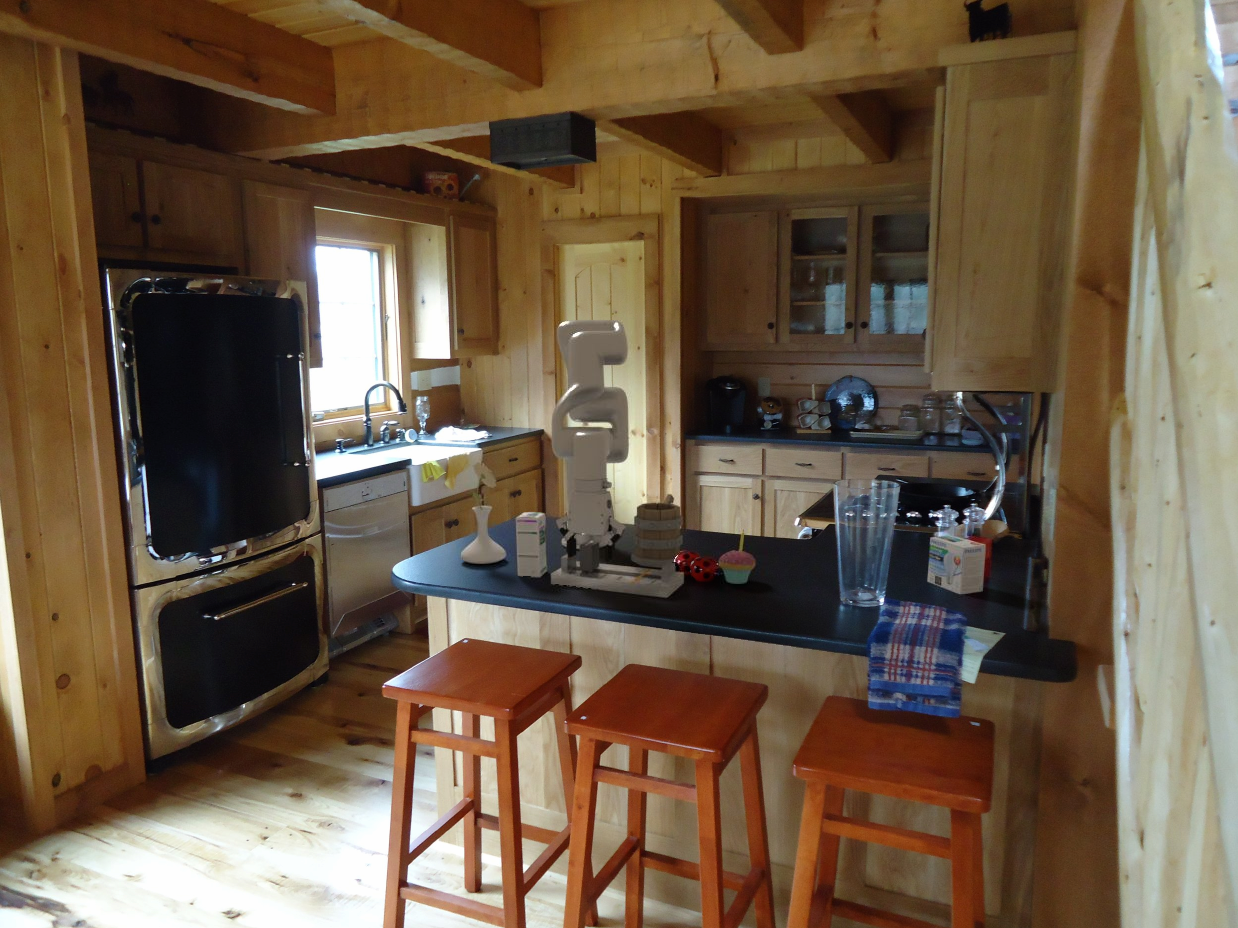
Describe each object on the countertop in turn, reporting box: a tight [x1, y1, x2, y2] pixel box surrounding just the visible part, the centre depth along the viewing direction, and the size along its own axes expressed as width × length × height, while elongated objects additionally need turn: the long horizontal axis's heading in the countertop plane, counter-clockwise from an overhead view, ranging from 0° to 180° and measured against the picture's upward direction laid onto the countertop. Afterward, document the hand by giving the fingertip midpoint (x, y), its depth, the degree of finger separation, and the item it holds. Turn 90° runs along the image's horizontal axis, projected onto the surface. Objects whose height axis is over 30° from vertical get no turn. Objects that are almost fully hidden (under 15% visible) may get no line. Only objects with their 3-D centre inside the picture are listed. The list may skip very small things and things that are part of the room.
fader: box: [579, 541, 600, 572], centre depth 203 cm, size 4×3×6 cm
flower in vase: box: [460, 461, 507, 565], centre depth 219 cm, size 13×11×25 cm
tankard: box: [630, 493, 684, 569], centre depth 223 cm, size 20×13×15 cm, turn 160°
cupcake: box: [718, 529, 756, 585], centre depth 202 cm, size 9×8×12 cm
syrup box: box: [515, 511, 548, 578], centre depth 208 cm, size 6×6×14 cm
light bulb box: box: [927, 534, 987, 595], centre depth 198 cm, size 11×7×11 cm, turn 23°
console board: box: [550, 553, 685, 599], centre depth 201 cm, size 12×28×6 cm, turn 68°
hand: (590, 558), depth 202 cm, fingers open, 9 cm apart
